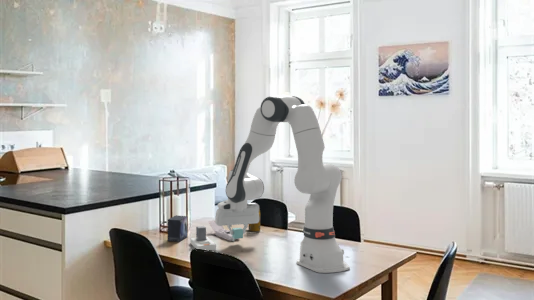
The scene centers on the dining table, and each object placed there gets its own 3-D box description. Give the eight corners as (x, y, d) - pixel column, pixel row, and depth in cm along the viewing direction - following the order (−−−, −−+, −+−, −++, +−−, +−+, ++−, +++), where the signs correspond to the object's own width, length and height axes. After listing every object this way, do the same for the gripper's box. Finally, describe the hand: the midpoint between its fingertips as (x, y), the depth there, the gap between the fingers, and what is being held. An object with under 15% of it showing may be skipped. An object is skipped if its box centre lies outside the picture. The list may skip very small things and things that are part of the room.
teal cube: (240, 236, 242) (240, 227, 242) (243, 238, 238) (243, 229, 238) (232, 236, 241) (232, 228, 240) (234, 238, 237) (234, 230, 237)
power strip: (216, 250, 229) (216, 243, 229) (198, 251, 227) (198, 245, 226) (207, 241, 244) (207, 236, 244) (190, 243, 242) (190, 237, 241)
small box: (180, 242, 244) (180, 219, 243) (167, 241, 245) (166, 219, 244) (188, 237, 254) (187, 215, 253) (175, 236, 256) (175, 215, 255)
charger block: (206, 245, 238) (205, 227, 237) (198, 246, 236) (198, 227, 236) (204, 243, 241) (204, 225, 240) (196, 244, 240) (196, 226, 239)
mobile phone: (218, 219, 267) (242, 228, 246) (218, 231, 268) (243, 240, 247) (207, 221, 264) (231, 230, 243) (207, 233, 264) (231, 242, 243)
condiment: (264, 231, 267) (264, 207, 266) (251, 233, 261) (251, 209, 260) (254, 228, 272) (254, 205, 271) (242, 231, 266) (241, 207, 266)
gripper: (257, 201, 245) (256, 230, 246) (214, 203, 238) (214, 234, 239) (261, 203, 239) (261, 233, 240) (217, 206, 232) (217, 237, 233)
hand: (237, 233), depth 239 cm, fingers closed on teal cube, 4 cm apart
